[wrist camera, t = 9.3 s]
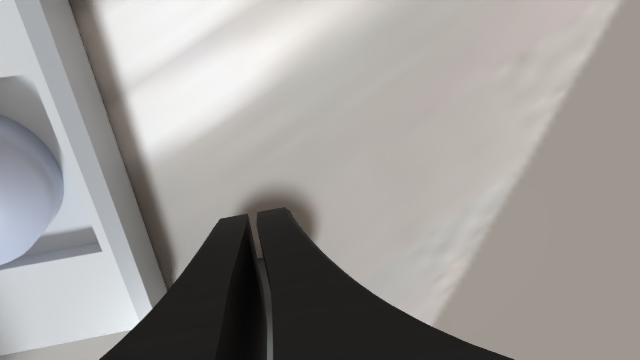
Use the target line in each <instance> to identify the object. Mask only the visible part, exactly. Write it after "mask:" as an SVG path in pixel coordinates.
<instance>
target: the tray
mask: <svg viewBox="0 0 640 360" xmlns="http://www.w3.org/2000/svg"><path fill="white" fill-rule="evenodd" d="M0 114H1V115H3V116H6V117H8V118H10V119H12V120H14V121H16V122H18V123H19V124H21V125H23V126H24V127H26V128H27V129H29V130H30V131H31V132H32V133H34V134H35V135H36V136H37V137H38V138H39V139H40V140H41V141H42V142H43V143H44V144H45V145H46V146H47V147H48V149H49V150H50V151H51V153H52V154H53V156H54V157H55V159H56V161H57V163H58V165H59V167H60V170H61V173H62V177H63V183H64V196H63V202H62V205H61V207H60V210H59V212H58V213H57V215H56V217H55V218H54V219H53V221H52V222H51V223H50V224H49V226H48V227H47V228H46V229H45V231H44V232H43V233H42V234H41V236H40V237H39V238H38V239H37V241H36V242H35V243H34V244H33V246H32V247H31V248H30V249H29V250H28V251H26V252H25V253H24V254H22V255H21V256H20V257H18V258H16V259H14V260H12V261H10V262H8V263H5V264H2V265H0V356H2V355H7V354H12V353H17V352H22V351H27V350H32V349H37V348H42V347H47V346H52V345H57V344H62V343H67V342H72V341H77V340H82V339H87V338H92V337H97V336H102V335H107V334H112V333H117V332H122V331H127V330H132V329H133V328H134V327H135V326H136V325H137V324H138V323H139V322H140V321H141V320H142V319H143V318H144V317H145V316H146V315H147V314H148V313H149V312H150V311H151V310H152V309H153V307H154V306H155V305H156V304H157V303H158V302H159V301H160V300H161V298H162V297H163V296H164V295H165V294H166V292H167V289H166V286H165V283H164V280H163V278H162V275H161V272H160V269H159V266H158V263H157V260H156V257H155V254H154V251H153V248H152V245H151V242H150V239H149V236H148V233H147V230H146V227H145V225H144V222H143V219H142V216H141V213H140V210H139V207H138V204H137V201H136V198H135V195H134V192H133V189H132V186H131V183H130V180H129V177H128V175H127V172H126V169H125V166H124V163H123V160H122V157H121V154H120V151H119V148H118V145H117V142H116V139H115V136H114V133H113V130H112V127H111V125H110V122H109V119H108V116H107V113H106V110H105V107H104V104H103V101H102V98H101V95H100V92H99V89H98V86H97V83H96V80H95V77H94V74H93V72H92V69H91V66H90V63H89V60H88V57H87V54H86V51H85V48H84V45H83V42H82V39H81V36H80V33H79V30H78V27H77V24H76V22H75V19H74V16H73V13H72V10H71V7H70V4H69V1H68V0H0Z"/></svg>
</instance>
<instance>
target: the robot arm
mask: <svg viewBox="0 0 640 360" xmlns="http://www.w3.org/2000/svg"><path fill="white" fill-rule="evenodd" d="M257 229H258V233H259V238H260V243H261V248H262V253H263V257H264V262H265V267H266V272H267V277H268V281H269V286H270V291H271V303H272V332H273V360H514V359H511V358H508V357H506V356H503V355H500V354H497V353H495V352H492V351H489V350H486V349H484V348H481V347H478V346H475V345H472V344H470V343H468V342H465V341H462V340H460V339H458V338H456V337H454V336H452V335H449V334H447V333H445V332H443V331H440V330H438V329H436V328H434V327H431V326H429V325H427V324H425V323H423V322H421V321H419V320H418V319H416V318H414V317H412V316H410V315H408V314H407V313H405V312H403V311H401V310H399V309H398V308H396V307H394V306H392V305H390V304H389V303H387V302H385V301H384V300H382V299H381V298H379V297H378V296H376V295H375V294H373V293H372V292H370V291H369V290H368V289H366V288H365V287H363V286H362V285H360V284H359V283H358V282H356V281H355V280H354V279H353V278H351V277H350V276H349V275H348V274H346V273H345V272H344V271H343V270H342V269H341V268H339V267H338V266H337V265H336V264H335V263H334V262H333V261H331V260H330V259H329V258H328V257H327V256H326V255H325V254H324V253H323V252H322V251H321V250H320V249H319V248H318V247H317V246H316V245H315V244H314V242H313V241H312V240H311V239H310V238H309V237H308V236H307V235H306V234H305V232H304V231H303V230H302V229H301V227H300V226H299V225H298V223H297V222H296V221H295V219H294V218H293V216H292V214H291V212H290V211H289V210H288V209H286V208H285V207H283V208H278V209H272V210H267V211H261V212H258V213H257ZM99 360H267V316H266V306H265V297H264V287H263V282H262V278H261V273H260V268H259V264H258V259H257V254H256V250H255V245H254V241H253V236H252V231H251V227H250V222H249V217H248V214H244V215H239V216H233V217H227V218H222V219H220V220H219V221H218V223H217V224H216V226H215V227H214V228H213V230H212V231H211V233H210V234H209V236H208V237H207V239H206V240H205V242H204V243H203V245H202V246H201V248H200V249H199V251H198V252H197V253H196V255H195V256H194V258H193V259H192V260H191V262H190V263H189V264H188V266H187V267H186V268H185V270H184V271H183V273H182V274H181V275H180V277H179V278H178V279H177V280H176V281H175V283H174V284H173V285H172V286H171V287H170V289H169V290H168V291H167V292H166V294H165V295H164V296H163V297H162V298H161V300H160V301H159V302H158V303H157V304H156V305H155V306H154V307H153V309H152V310H151V311H150V312H149V313H148V314H147V315H146V316H145V317H144V318H143V319H142V320H141V321H140V322H139V323H138V324H137V325H136V326H135V327H134V328H133V329H132V330H131V331H130V332H129V333H128V334H127V335H126V336H125V337H124V338H123V339H122V340H121V341H120V342H119V343H118V344H116V345H115V346H114V347H113V348H112V349H111V350H110V351H108V352H107V353H106V354H105V355H104V356H103V357H102V358H100V359H99Z"/></svg>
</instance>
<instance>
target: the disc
mask: <svg viewBox="0 0 640 360" xmlns="http://www.w3.org/2000/svg"><path fill="white" fill-rule="evenodd" d="M63 196H64V183H63V177H62V173H61V170H60V167H59V165H58V163H57V161H56V159H55V157H54V156H53V154H52V153H51V151H50V150H49V149H48V147H47V146H46V145H45V144H44V143H43V142H42V141H41V140H40V139H39V138H38V137H37V136H36V135H35V134H34V133H32V132H31V131H30V130H29V129H27V128H26V127H24V126H23V125H21V124H19V123H18V122H16V121H14V120H12V119H10V118H8V117H6V116H3V115H1V114H0V265H2V264H5V263H8V262H10V261H12V260H14V259H16V258H18V257H20V256H21V255H22V254H24V253H25V252H26V251H28V250H29V249H30V248H31V247H32V246H33V244H34V243H35V242H36V241H37V239H38V238H39V237H40V236H41V234H42V233H43V232H44V231H45V229H46V228H47V227H48V226H49V224H50V223H51V222H52V221H53V219H54V218H55V217H56V215H57V213H58V212H59V210H60V207H61V205H62V202H63Z"/></svg>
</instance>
